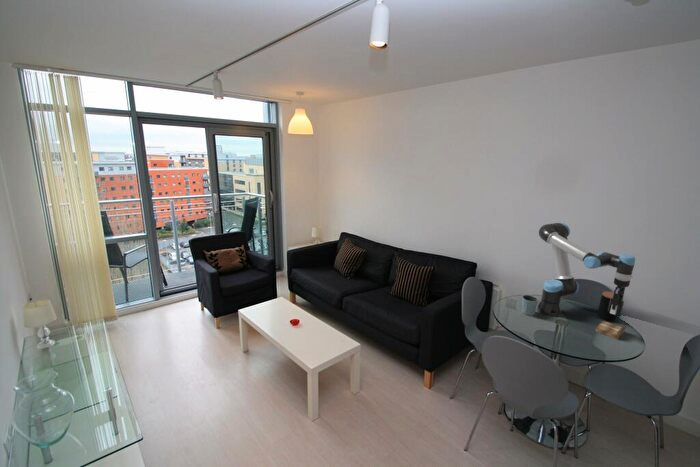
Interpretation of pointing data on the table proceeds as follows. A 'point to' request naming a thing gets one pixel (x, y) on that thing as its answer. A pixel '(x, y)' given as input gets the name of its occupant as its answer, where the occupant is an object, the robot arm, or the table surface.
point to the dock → (610, 329)
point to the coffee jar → (606, 307)
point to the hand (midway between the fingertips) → (614, 311)
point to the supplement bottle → (620, 305)
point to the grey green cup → (529, 305)
